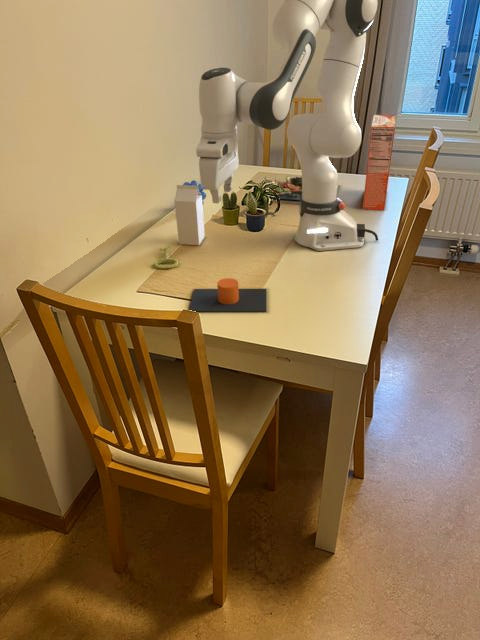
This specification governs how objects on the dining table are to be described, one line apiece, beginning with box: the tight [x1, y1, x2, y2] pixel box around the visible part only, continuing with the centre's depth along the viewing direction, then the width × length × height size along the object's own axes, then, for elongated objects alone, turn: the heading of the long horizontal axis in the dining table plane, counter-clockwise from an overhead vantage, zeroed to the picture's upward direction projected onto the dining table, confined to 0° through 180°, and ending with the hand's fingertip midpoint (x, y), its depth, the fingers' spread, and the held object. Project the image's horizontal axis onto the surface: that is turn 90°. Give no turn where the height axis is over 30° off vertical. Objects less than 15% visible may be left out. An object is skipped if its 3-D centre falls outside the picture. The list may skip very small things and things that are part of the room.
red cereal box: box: [362, 114, 396, 211], centre depth 192 cm, size 23×8×30 cm, turn 165°
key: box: [153, 246, 179, 270], centre depth 155 cm, size 7×12×2 cm, turn 23°
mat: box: [188, 288, 267, 313], centre depth 134 cm, size 20×12×1 cm, turn 88°
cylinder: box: [216, 277, 240, 305], centre depth 132 cm, size 6×6×5 cm
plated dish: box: [264, 175, 340, 205], centre depth 209 cm, size 35×28×7 cm
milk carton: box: [174, 184, 206, 246], centre depth 164 cm, size 7×7×19 cm
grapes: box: [182, 179, 207, 207], centre depth 192 cm, size 12×7×12 cm, turn 73°
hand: (222, 196), depth 131 cm, fingers open, 8 cm apart
